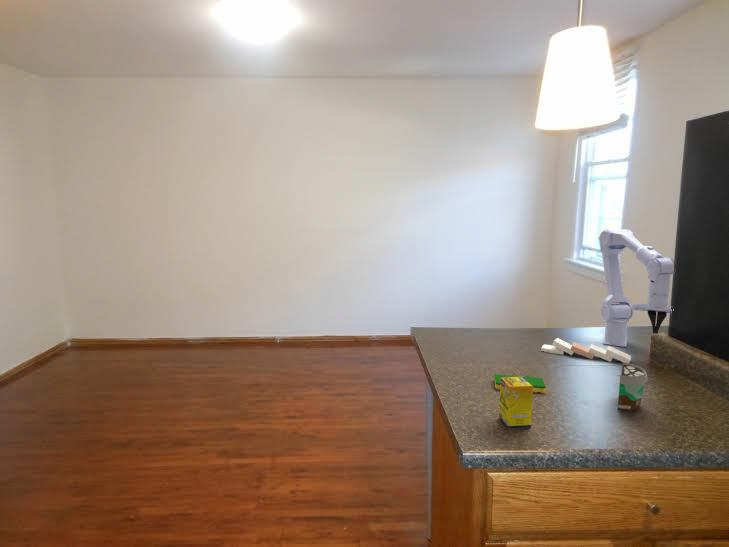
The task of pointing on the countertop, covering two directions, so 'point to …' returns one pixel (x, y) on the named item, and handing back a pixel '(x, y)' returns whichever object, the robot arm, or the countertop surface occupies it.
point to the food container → (631, 387)
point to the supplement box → (515, 402)
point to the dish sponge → (534, 381)
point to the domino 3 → (581, 350)
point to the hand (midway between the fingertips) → (655, 332)
